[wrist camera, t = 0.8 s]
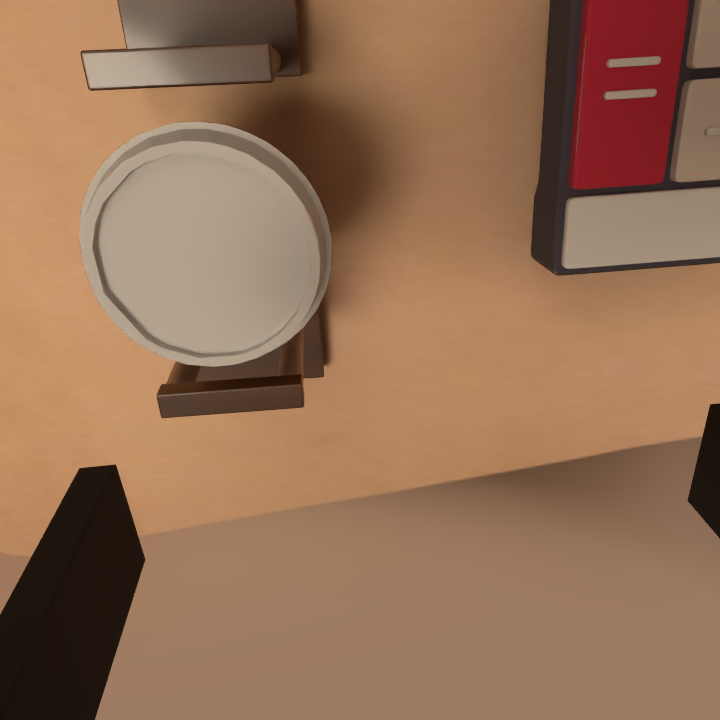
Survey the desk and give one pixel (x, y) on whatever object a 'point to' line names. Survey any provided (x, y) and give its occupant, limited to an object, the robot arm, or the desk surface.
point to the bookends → (198, 68)
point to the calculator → (629, 137)
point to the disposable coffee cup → (205, 243)
